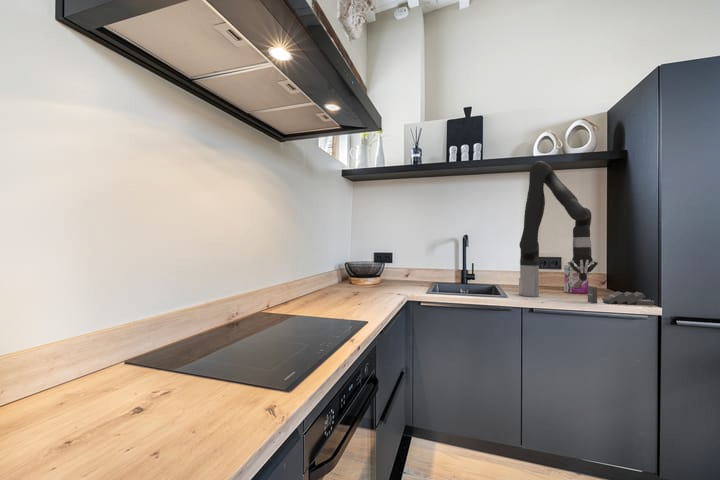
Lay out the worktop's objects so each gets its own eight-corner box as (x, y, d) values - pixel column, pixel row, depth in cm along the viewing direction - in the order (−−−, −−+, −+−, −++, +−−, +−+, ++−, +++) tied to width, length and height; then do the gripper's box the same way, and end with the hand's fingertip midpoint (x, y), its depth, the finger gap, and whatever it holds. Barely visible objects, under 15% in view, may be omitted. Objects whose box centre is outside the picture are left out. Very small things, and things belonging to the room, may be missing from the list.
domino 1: (592, 303, 144) (592, 287, 145) (587, 301, 149) (587, 285, 149) (597, 303, 144) (597, 287, 144) (592, 301, 148) (592, 286, 148)
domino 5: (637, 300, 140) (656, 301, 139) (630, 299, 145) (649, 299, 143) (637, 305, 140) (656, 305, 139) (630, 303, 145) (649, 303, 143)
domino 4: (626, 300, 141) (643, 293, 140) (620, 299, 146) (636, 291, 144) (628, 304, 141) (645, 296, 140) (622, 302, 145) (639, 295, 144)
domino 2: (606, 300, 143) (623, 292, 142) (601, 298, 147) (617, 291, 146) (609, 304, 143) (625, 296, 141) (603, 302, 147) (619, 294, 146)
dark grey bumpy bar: (616, 300, 142) (633, 293, 141) (610, 298, 146) (626, 291, 145) (618, 304, 142) (635, 296, 141) (613, 302, 146) (629, 295, 145)
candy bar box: (568, 293, 172) (568, 265, 172) (563, 292, 177) (563, 265, 177) (589, 293, 171) (588, 265, 171) (583, 292, 176) (583, 265, 176)
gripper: (592, 246, 150) (594, 279, 150) (563, 246, 153) (564, 279, 153) (601, 246, 143) (602, 281, 142) (570, 246, 146) (571, 281, 145)
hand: (582, 280), depth 147 cm, fingers closed
